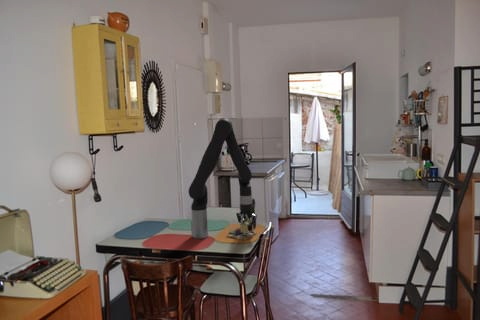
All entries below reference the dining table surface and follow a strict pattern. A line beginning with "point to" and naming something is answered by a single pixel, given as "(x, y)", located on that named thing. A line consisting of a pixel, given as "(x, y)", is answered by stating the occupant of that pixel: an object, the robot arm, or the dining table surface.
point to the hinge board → (240, 234)
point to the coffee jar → (253, 210)
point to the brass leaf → (245, 227)
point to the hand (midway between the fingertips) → (247, 230)
